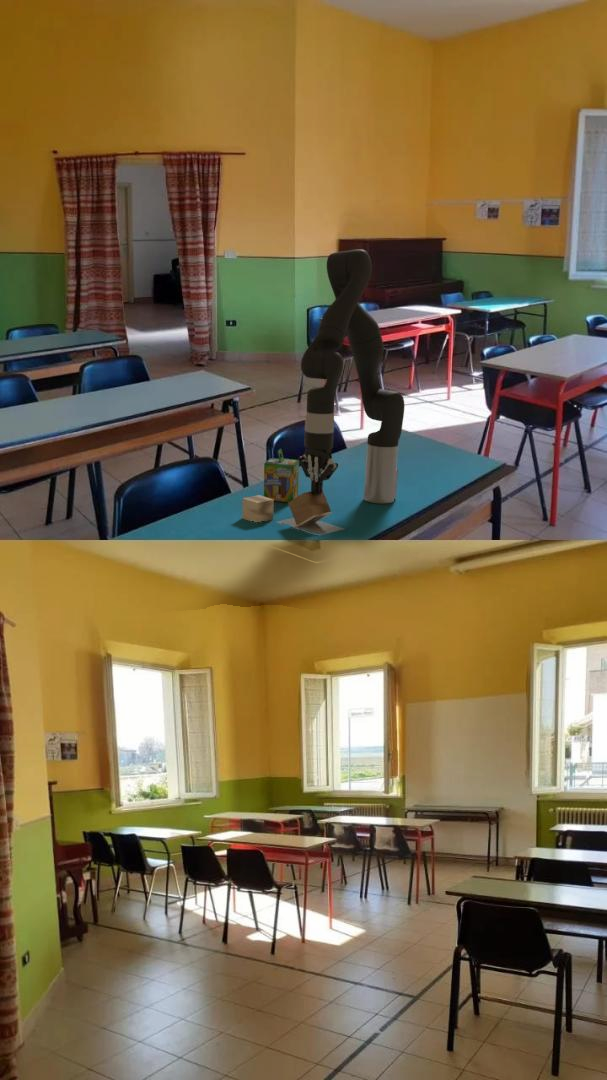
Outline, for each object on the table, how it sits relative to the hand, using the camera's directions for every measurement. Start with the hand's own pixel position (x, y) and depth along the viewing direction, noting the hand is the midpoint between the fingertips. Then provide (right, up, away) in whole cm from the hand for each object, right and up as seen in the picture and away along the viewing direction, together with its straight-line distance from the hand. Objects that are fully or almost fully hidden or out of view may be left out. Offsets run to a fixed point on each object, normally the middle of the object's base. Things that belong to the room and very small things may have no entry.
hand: (316, 494), depth 220 cm
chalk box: (-10, 0, +31) cm, 33 cm away
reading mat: (-2, -8, +4) cm, 9 cm away
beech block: (-16, -7, +8) cm, 19 cm away
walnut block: (0, -7, +2) cm, 7 cm away
